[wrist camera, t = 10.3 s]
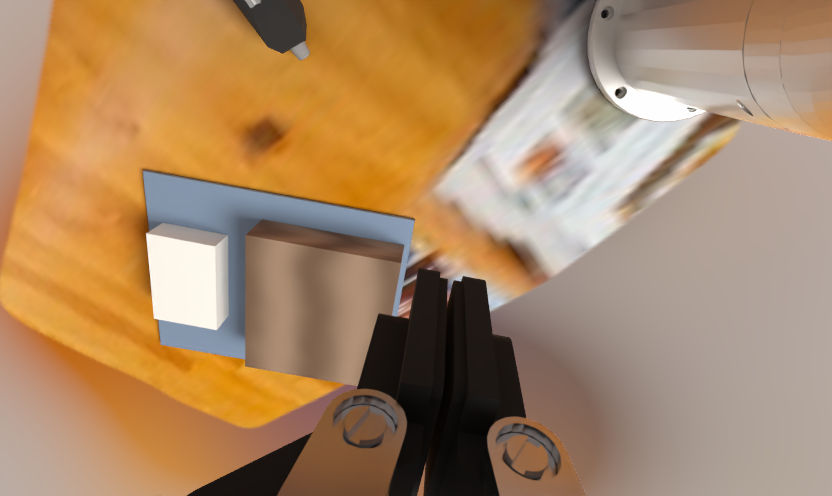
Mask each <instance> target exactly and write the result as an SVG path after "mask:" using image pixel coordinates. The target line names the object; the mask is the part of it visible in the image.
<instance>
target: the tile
mask: <svg viewBox="0 0 832 496" xmlns="http://www.w3.org/2000/svg"><path fill="white" fill-rule="evenodd" d="M146 239H147V249H148V260H149V270H150V280H151V291H152V301H153V312H154V319H159V320H164V321H170V322H175V323H180V324H186V325H191V326H197V327H202V328H207V329H213V330H217V329H218V328H219V327H220V326H221V324H222V323H223V322H224V321H225V319H226V318H227V317H228V316H229V293H228V235H225V234H220V233H214V232H209V231H204V230H199V229H193V228H188V227H183V226H178V225H172V224H167V223H162V224H160V225H159V226H157V227H155V228H154V229H152V230H151V231H149V232H147V233H146Z"/></svg>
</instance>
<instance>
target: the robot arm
mask: <svg viewBox="0 0 832 496" xmlns="http://www.w3.org/2000/svg"><path fill="white" fill-rule="evenodd" d="M603 10H605V11H606V12H607V15H606V17H605V18H602V17H601V13H602V11H603ZM588 58H589V64H590V69H591V72H592V75H593V77H594V79H595V82H596V84H597V86H598V87H599V89H600V90H601V92H602V93H603V95H604V96H605V98H607V99H608V100H609V101H610V102H611V103H612V104H613V105H614V106H615V107H617V108H618V109H620V110H622V111H624V112H625V113H627V114H629V115H632V116H635V117H637V118H640V119H645V120H650V121H655V122H670V121H677V120H683V119H688V118H691V117H694V116H696V115H699V114H702V113H704V112H711V113H715V114H719V115H723V116H727V117H731V118H735V119H739V120H744V121H748V122H752V123H756V124H760V125H764V126H768V127H773V128H776V129H781V130H785V131H789V132H794V133H797V134H801V135H805V136H812V137H816V138H820V139H825V140H829V141H832V0H597V1H596V4H595V7H594V10H593V12H592V15H591V19H590V25H589V31H588ZM617 88H619V90H620V91H619V94H617V95H615V91H616V89H617ZM687 107H688V108H687ZM447 283H448V279H444V278H440V272H438V271H432V270H427V269H421V268H419V269H418V274H417V279H416V285H415V290H414V295H413V300H412V305H411V311H410V316H409V319H407V318H402V317H397V316H391V315H386V314H380V313H379V314H378V316H377V320H376V323H375V327H374V330H373V334H372V337H371V341H370V345H369V348H368V352H367V355H366V359H365V362H364V366H363V369H362V373H361V376H360V380H359V383H358V387H357V389H354V390H351V391H348V392H345V393H342V394H341V395H339V396H338V397H336V398H335V399H333V401H332V402H331V403H330V404H329V405H328V407H327V408H326V410H325V412H324V413H323V415H322V417H321V418H320V420H319V422H318V424H317V426H316V427H315V429H314V431H313V432H312V433H310V434H308V435H306V436H304V437H302V438H300V439H298V440H296V441H294V442H292V443H290V444H288V445H286V446H284V447H282V448H280V449H278V450H276V451H273V452H271V453H269V454H268V455H265V456H263V457H261V458H259V459H257V460H255V461H253V462H251V463H249V464H247V465H245V466H243V467H241V468H239V469H237V470H235V471H233V472H231V473H229V474H227V475H225V476H223V477H221V478H219V479H217V480H215V481H213V482H211V483H209V484H207V485H205V486H203V487H201V488H199V489H197V490H195V491H193V492H192V493H190V494H189V495H187V496H417V493H418V489H419V485H420V481H421V477H422V474H423V470H424V466H425V462H426V468H425V481H424V496H586V494H585V492H584V489H583V487H582V485H581V482H580V480H579V478H578V475H577V473H576V471H575V469H574V466H573V464H572V461H571V459H570V457H569V454H568V452H567V451H566V449H565V447H564V446H563V444H562V442H561V441H560V440H559V439H558V438H557V437H556V436H555V435H554V434H553V432H552V431H550V430H549V429H547V428H546V427H544V426H543V425H541V424H540V423H537V422H535V421H532V420H530V419H527V418H526V414H525V409H524V404H523V398H522V393H521V388H520V382H519V378H518V372H517V367H516V361H515V357H514V351H513V346H512V341H511V339H510V338H509V337H504V336H499V335H494V334H492V326H491V319H490V311H489V303H488V295H487V287H486V281H485V280H481V279H475V278H470V277H465V276H463V278H462V281H461V282H460V281H455V280H454V282H453V285H452V289H451V293H450V297H449V302H448V306H447Z"/></svg>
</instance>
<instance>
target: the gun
mask: <svg viewBox="0 0 832 496" xmlns="http://www.w3.org/2000/svg"><path fill="white" fill-rule="evenodd" d="M233 1H234V2H235V3H236V5H237V6H238V7H239V9H240V10H241V11H242V13H243V14H244V16H245V17H246V18H247V20H248V21H249V22H250V24H251V25H252V26H253V28H254V29H255V30H256V32H257V33H258V34H259V36H260V37H261V38H262V40H263V41H264V42H265V44H266V45H267V46H268V47H269V48H271V49H274V50H276V51H278V52H280V53H282V54H283V53H284V52H286V51H288V50H291V51H292V52H293V54H294V55H295V56H296V57H297V58H298V59H299V60H303V59H305V58H306V57H308V55H309V54H310V51H309V49H308V47H307V45H306V43H305V41H306V19H305V13H304V8H303V5H302V3H301V1H300V0H233Z"/></svg>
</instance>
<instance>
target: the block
mask: <svg viewBox="0 0 832 496" xmlns="http://www.w3.org/2000/svg"><path fill="white" fill-rule="evenodd" d="M403 251H404V245H401V244H396V243H390V242H385V241H379V240H374V239H368V238H363V237H357V236H352V235H346V234H341V233H335V232H330V231H324V230H319V229H313V228H308V227H302V226H297V225H291V224H286V223H280V222H275V221H269V220H264V219H262V220H261V221H260V222H259V223H258V224H257V225H256V226H254V227H253V228H252V229H251V230H250V231H249V232H248V233H247V234H246V235H245V366H246V367H252V368H257V369H263V370H269V371H275V372H280V373H286V374H292V375H298V376H303V377H309V378H315V379H321V380H326V381H332V382H338V383H343V384H349V385H355V386H358V383H359V380H360V376H361V373H362V369H363V366H364V362H365V359H366V355H367V352H368V348H369V345H370V341H371V337H372V334H373V330H374V327H375V323H376V320H377V316H378V314H379V313H380V314H386V315H391V316H392V313H393V307H394V302H395V296H396V290H397V285H398V279H399V274H400V268H401V262H402V257H403Z"/></svg>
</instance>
